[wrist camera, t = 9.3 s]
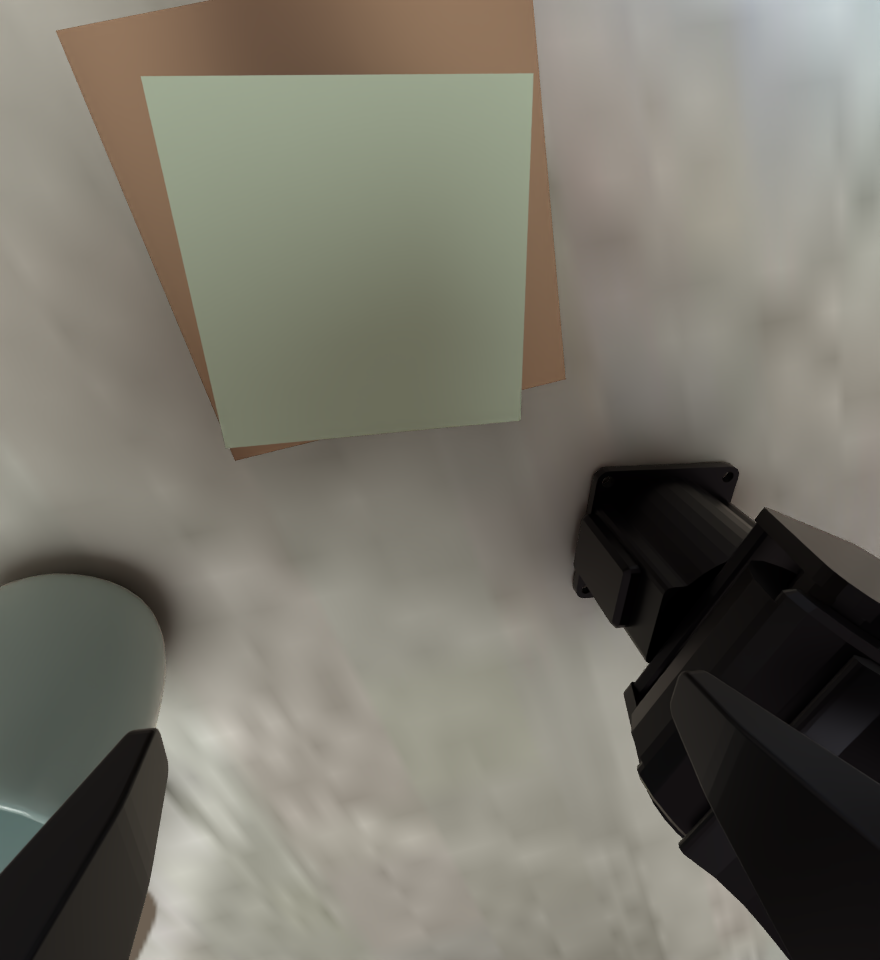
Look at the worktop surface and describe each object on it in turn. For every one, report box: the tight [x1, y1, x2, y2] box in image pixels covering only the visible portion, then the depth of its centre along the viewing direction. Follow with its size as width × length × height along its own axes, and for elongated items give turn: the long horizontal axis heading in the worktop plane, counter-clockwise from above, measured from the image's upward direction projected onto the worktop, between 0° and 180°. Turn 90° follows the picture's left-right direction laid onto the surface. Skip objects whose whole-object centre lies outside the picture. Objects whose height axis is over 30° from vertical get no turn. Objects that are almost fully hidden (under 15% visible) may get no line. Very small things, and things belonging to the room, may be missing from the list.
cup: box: [0, 573, 166, 873], centre depth 18 cm, size 8×8×10 cm
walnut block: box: [56, 0, 566, 461], centre depth 15 cm, size 9×9×6 cm
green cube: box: [141, 73, 534, 448], centre depth 11 cm, size 5×5×5 cm
